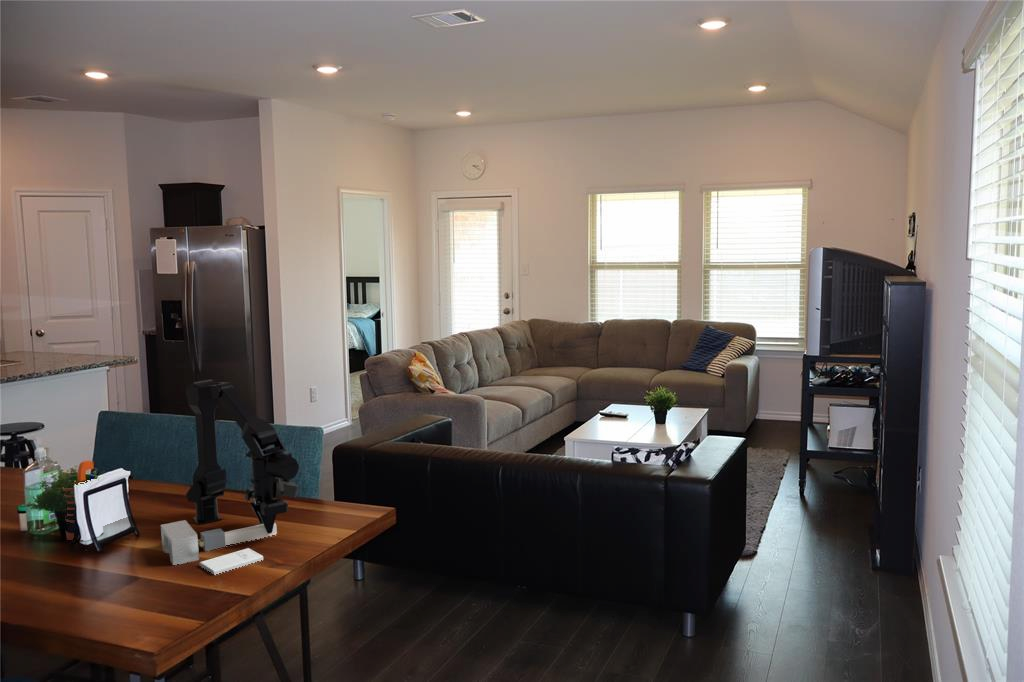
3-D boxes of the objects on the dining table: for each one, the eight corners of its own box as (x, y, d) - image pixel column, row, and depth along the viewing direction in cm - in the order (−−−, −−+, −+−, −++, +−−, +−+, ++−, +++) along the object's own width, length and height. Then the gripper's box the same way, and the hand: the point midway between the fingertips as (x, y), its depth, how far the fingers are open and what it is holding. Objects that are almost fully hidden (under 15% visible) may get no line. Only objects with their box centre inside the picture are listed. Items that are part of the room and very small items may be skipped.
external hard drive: (199, 568, 195) (248, 553, 203) (214, 577, 189) (263, 561, 197) (199, 561, 195) (247, 547, 203) (213, 570, 189) (263, 555, 197)
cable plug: (273, 531, 217) (272, 517, 217) (277, 535, 214) (277, 521, 213) (197, 548, 206) (196, 533, 206) (201, 553, 203) (200, 537, 203)
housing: (162, 549, 206) (160, 525, 205) (187, 544, 209) (185, 520, 208) (173, 565, 195) (171, 539, 194) (199, 559, 199) (197, 534, 198)
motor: (57, 538, 216) (50, 465, 214) (88, 527, 224) (81, 457, 222) (81, 543, 212) (74, 469, 209) (112, 532, 219) (105, 460, 217)
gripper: (306, 476, 209) (309, 534, 211) (282, 461, 224) (286, 515, 226) (263, 484, 203) (266, 544, 205) (242, 468, 218) (245, 524, 220)
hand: (267, 531), depth 214 cm, fingers open, 3 cm apart
